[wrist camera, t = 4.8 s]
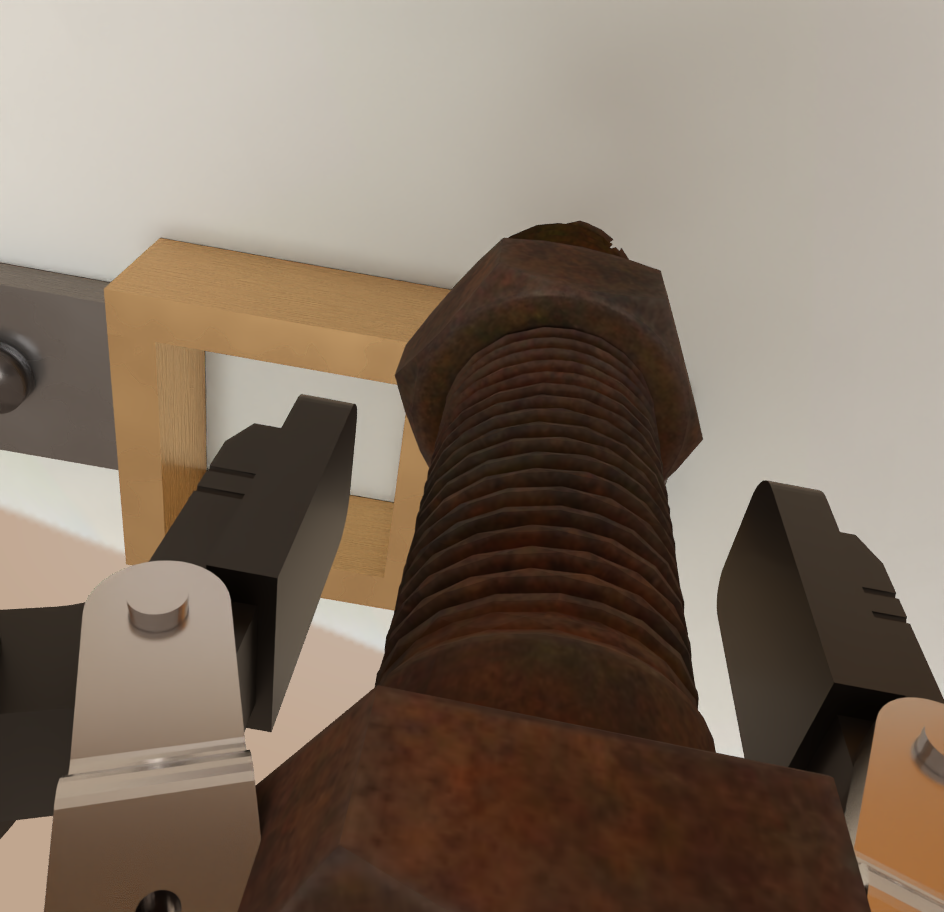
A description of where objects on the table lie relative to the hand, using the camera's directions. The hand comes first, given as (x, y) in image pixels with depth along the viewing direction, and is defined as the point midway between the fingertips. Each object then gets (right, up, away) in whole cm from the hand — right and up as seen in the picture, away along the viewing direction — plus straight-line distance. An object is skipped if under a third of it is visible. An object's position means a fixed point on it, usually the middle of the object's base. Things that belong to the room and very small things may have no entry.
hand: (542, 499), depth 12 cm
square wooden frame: (-7, +3, +22) cm, 23 cm away
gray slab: (-16, +4, +22) cm, 27 cm away
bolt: (+1, +4, +6) cm, 8 cm away
